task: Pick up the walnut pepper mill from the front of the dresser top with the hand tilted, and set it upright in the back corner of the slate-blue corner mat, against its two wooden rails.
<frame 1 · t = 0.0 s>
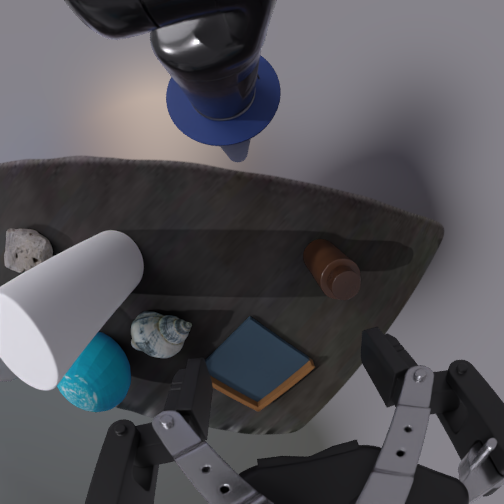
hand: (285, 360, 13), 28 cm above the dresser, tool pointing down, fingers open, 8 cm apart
vase: (114, 262, 40), on the dresser
corner mat: (254, 365, 46), on the dresser
stone: (34, 250, 39), on the dresser
light fixture: (15, 314, 43), on the dresser
seashell: (163, 326, 44), on the dresser
pepper mill: (319, 255, 41), on the dresser
decorative orb: (106, 347, 45), on the dresser
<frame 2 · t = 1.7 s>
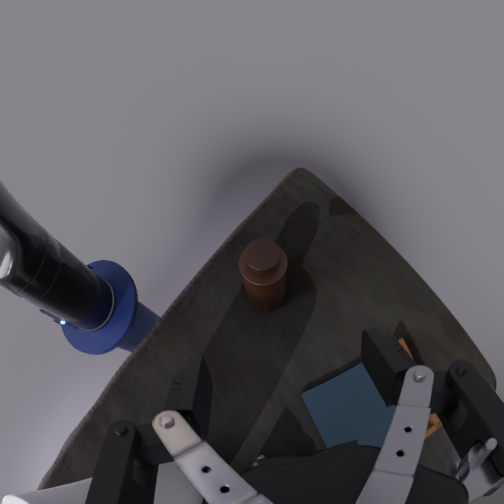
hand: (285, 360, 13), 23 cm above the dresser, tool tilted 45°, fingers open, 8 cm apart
vase: (167, 487, 25), on the dresser
corner mat: (373, 413, 28), on the dresser
pepper mill: (266, 294, 38), on the dresser
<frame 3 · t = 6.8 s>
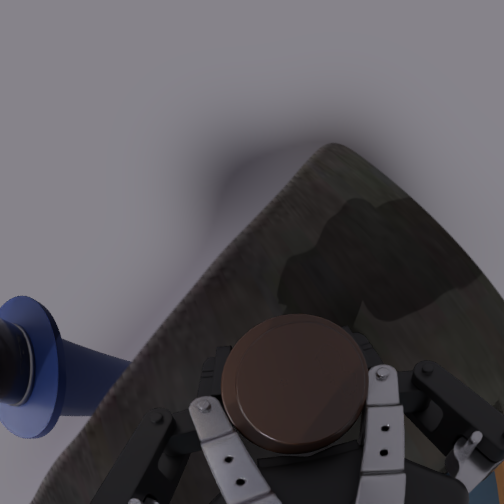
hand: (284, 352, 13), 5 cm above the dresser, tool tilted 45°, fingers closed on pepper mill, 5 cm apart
pepper mill: (286, 386, 17), on the dresser, touching gripper
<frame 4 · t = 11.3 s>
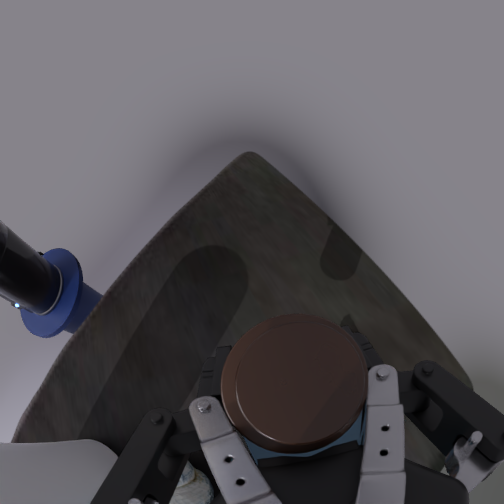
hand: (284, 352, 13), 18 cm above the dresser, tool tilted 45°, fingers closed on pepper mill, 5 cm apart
vase: (99, 472, 23), on the dresser
corner mat: (309, 420, 26), on the dresser
seashell: (189, 488, 23), on the dresser
pepper mill: (286, 386, 17), point 13 cm above the dresser, touching gripper
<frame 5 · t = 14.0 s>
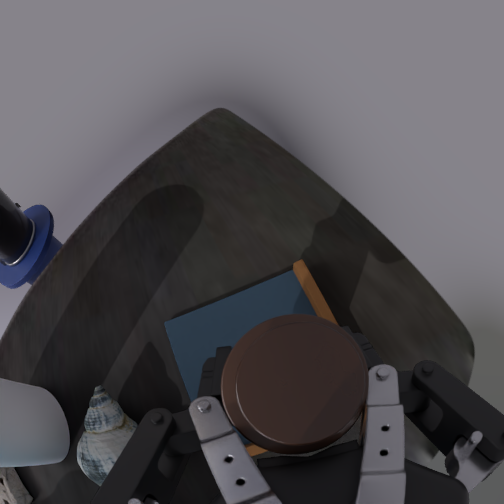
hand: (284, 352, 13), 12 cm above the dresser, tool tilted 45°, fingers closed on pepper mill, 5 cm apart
vase: (43, 425, 21), on the dresser
corner mat: (263, 366, 24), on the dresser
stone: (13, 488, 14), on the dresser
seashell: (126, 447, 20), on the dresser
pepper mill: (286, 386, 17), point 7 cm above the dresser, touching gripper
when the fingers open (6 cm above the dresser, at t = 16.0 s): pepper mill stays where it is, resting on corner mat.
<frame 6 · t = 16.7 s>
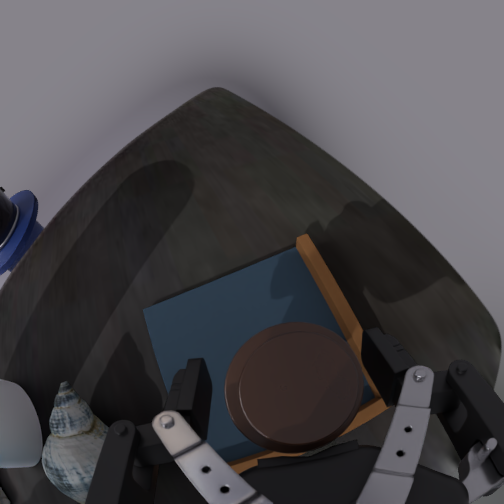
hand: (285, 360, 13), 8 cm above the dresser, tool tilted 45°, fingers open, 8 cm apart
vase: (17, 424, 16), on the dresser
corner mat: (260, 363, 20), on the dresser
seashell: (101, 455, 16), on the dresser
pepper mill: (286, 388, 18), point 1 cm above the dresser, touching corner mat
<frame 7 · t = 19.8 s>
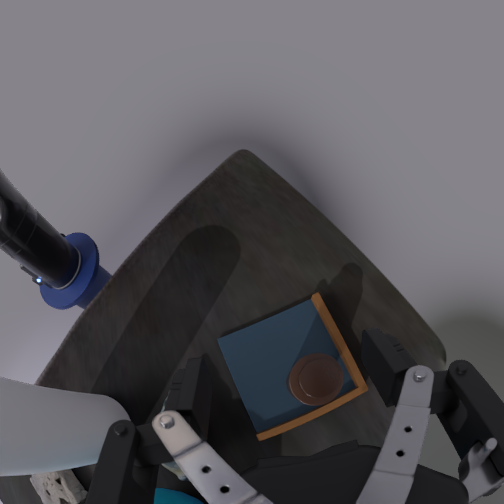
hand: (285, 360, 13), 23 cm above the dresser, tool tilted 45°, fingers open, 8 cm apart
vase: (105, 426, 30), on the dresser
corner mat: (290, 368, 34), on the dresser
stone: (65, 487, 24), on the dresser
pepper mill: (306, 381, 32), point 1 cm above the dresser, touching corner mat
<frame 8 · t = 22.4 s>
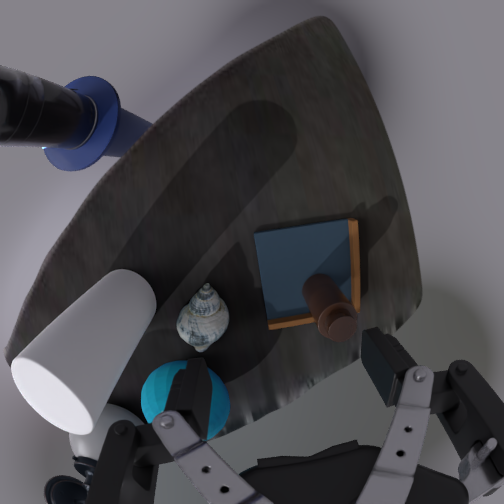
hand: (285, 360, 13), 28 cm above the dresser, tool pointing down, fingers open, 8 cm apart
vase: (127, 298, 42), on the dresser
corner mat: (309, 272, 41), on the dresser
light fixture: (120, 416, 51), on the dresser
seashell: (206, 311, 43), on the dresser
pepper mill: (318, 289, 41), point 1 cm above the dresser, touching corner mat
decorative orb: (191, 374, 47), on the dresser
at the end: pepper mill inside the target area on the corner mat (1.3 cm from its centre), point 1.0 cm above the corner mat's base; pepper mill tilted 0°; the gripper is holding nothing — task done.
